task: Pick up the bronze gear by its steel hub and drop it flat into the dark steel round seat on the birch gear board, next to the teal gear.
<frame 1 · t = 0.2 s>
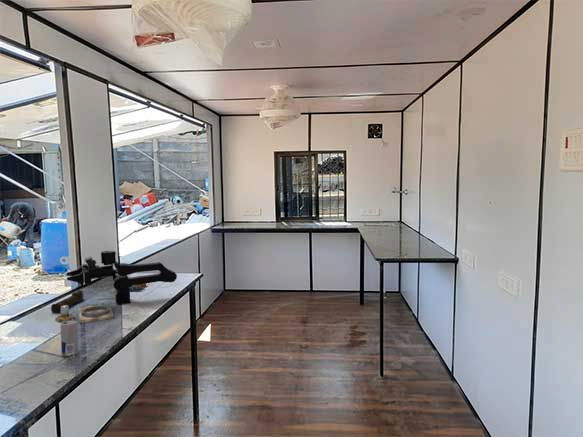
hand: (66, 276, 189), 17 cm above the table, tool horizontal, fingers open, 9 cm apart
energy drink: (70, 354, 143), on the table
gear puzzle: (135, 286, 238), on the table
hand tool: (68, 306, 197), on the table
bronze gear: (65, 318, 178), on the table
gear board: (95, 314, 186), on the table
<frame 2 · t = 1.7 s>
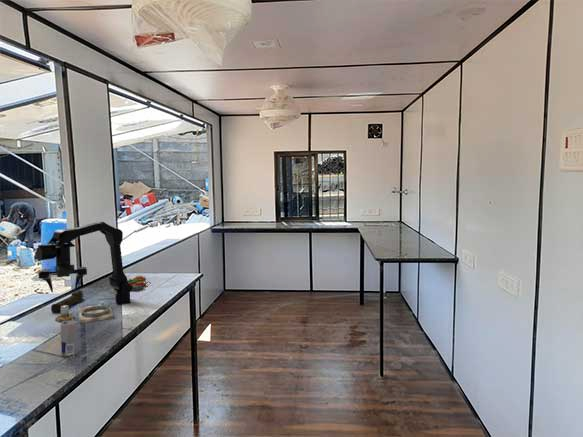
hand: (64, 291, 177), 13 cm above the table, tool pointing down, fingers open, 9 cm apart
nothing on the table moved.
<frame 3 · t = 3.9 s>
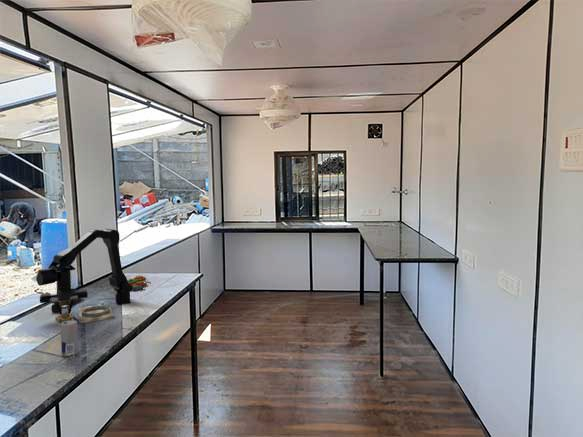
hand: (65, 314, 178), 2 cm above the table, tool pointing down, fingers closed on bronze gear, 3 cm apart
bronze gear: (65, 318, 178), on the table, touching gripper
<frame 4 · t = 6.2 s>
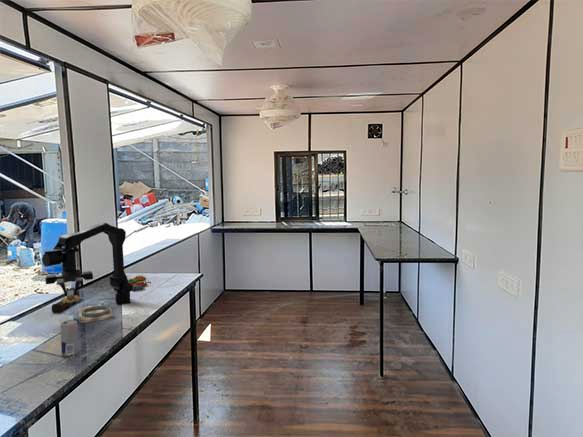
hand: (70, 295, 179), 11 cm above the table, tool pointing down, fingers closed on bronze gear, 3 cm apart
bronze gear: (70, 300, 179), point 8 cm above the table, touching gripper
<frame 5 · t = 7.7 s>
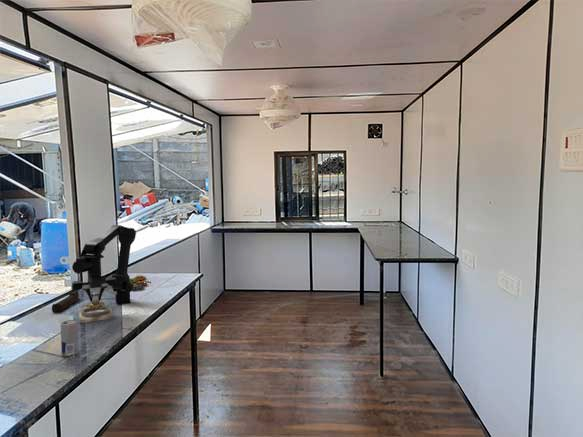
hand: (95, 301, 183), 7 cm above the table, tool pointing down, fingers closed on bronze gear, 3 cm apart
bronze gear: (95, 305, 184), point 5 cm above the table, touching gripper
when the fingers open (5 cm above the table, at t = 8.7 s): bronze gear drops 1 cm, resting on gear board.
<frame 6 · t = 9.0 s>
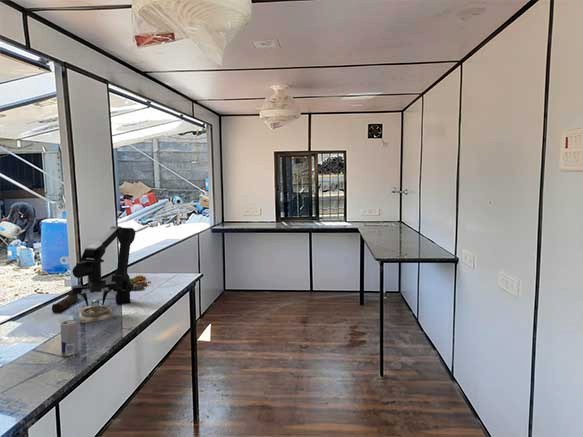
hand: (95, 305, 184), 5 cm above the table, tool pointing down, fingers open, 6 cm apart
bronze gear: (95, 312, 184), point 1 cm above the table, touching gear board
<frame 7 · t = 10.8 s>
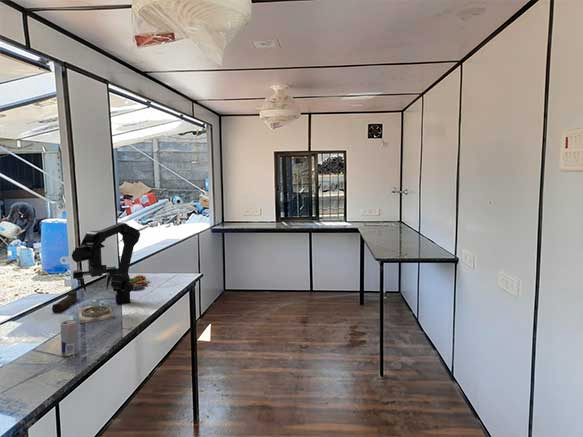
hand: (96, 289, 186), 11 cm above the table, tool pointing down, fingers open, 9 cm apart
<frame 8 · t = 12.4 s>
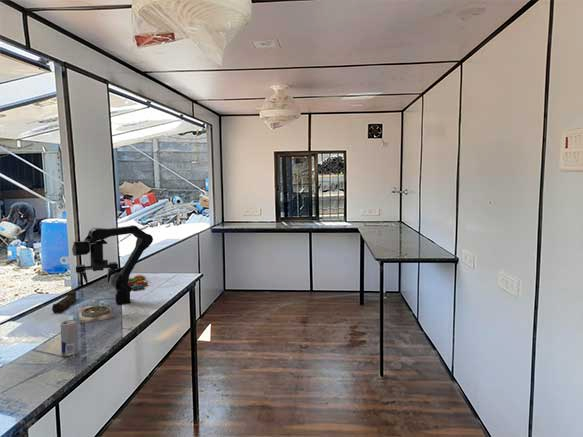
hand: (97, 284, 194), 12 cm above the table, tool pointing down, fingers open, 9 cm apart
at the end: bronze gear 0.0 cm from the target spot on the gear board, point 1.2 cm above the gear board's base; bronze gear tilted 0°; the gripper is holding nothing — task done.
